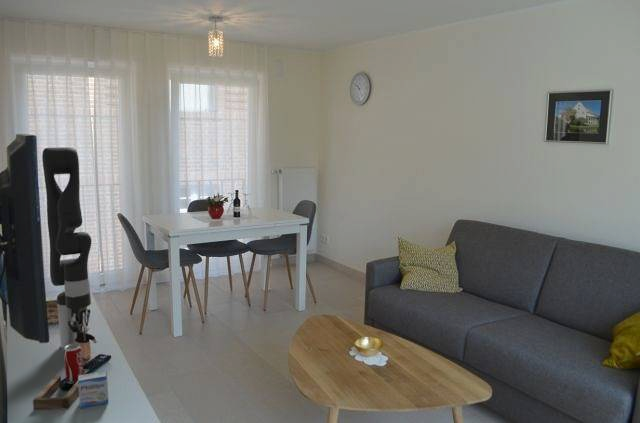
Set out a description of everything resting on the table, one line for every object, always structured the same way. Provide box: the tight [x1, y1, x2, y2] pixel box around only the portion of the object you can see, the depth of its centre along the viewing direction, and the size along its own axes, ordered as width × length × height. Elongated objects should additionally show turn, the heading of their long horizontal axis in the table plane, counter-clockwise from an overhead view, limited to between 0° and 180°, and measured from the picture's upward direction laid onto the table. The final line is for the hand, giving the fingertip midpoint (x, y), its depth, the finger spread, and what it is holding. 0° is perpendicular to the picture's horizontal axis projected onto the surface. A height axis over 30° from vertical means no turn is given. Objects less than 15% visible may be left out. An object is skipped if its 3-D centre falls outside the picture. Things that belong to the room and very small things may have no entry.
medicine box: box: [78, 370, 109, 409], centre depth 154 cm, size 8×4×9 cm, turn 114°
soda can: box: [63, 344, 85, 381], centre depth 166 cm, size 5×5×12 cm
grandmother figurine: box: [74, 325, 98, 361], centre depth 183 cm, size 8×4×13 cm, turn 111°
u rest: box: [32, 375, 79, 411], centre depth 157 cm, size 15×10×3 cm
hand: (81, 341), depth 172 cm, fingers closed
